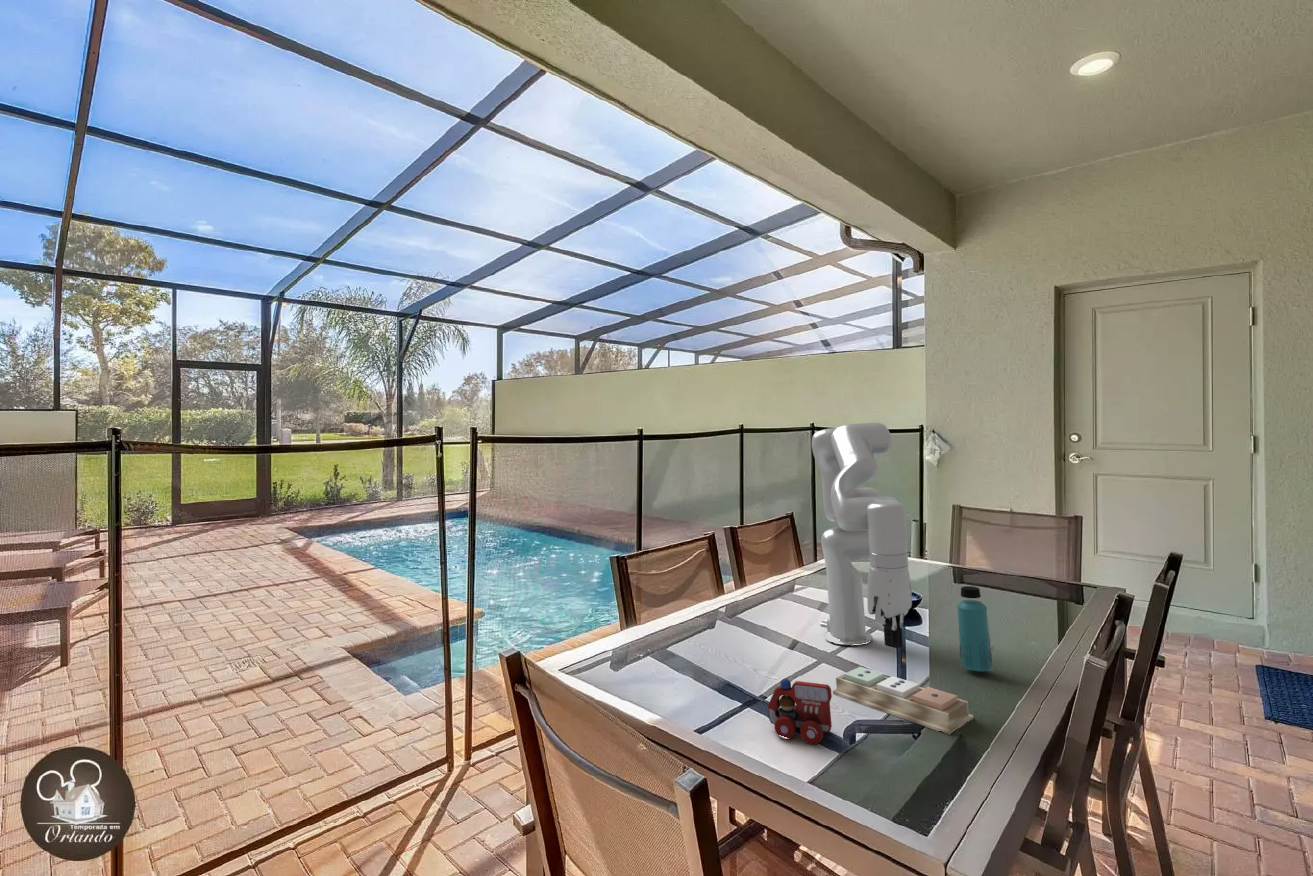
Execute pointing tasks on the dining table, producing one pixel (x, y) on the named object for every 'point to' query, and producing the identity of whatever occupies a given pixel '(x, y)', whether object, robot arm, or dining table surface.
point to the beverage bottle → (974, 631)
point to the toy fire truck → (801, 710)
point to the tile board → (904, 706)
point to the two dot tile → (864, 676)
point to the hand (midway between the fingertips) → (893, 646)
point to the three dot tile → (898, 687)
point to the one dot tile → (935, 699)
